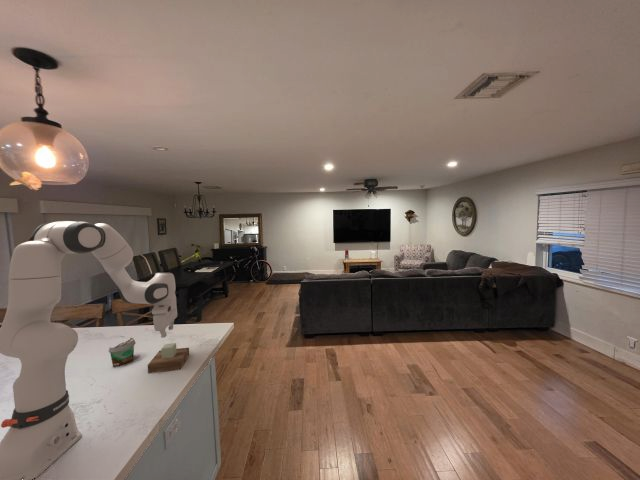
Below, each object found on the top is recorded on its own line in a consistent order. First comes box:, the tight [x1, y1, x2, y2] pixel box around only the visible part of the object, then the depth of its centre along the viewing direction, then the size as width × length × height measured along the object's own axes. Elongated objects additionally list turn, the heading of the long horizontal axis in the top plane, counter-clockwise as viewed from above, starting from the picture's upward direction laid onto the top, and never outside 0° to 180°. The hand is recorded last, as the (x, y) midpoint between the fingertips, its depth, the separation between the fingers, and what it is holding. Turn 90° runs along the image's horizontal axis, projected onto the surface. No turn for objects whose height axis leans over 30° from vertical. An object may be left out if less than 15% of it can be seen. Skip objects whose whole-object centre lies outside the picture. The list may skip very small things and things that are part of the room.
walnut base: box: [147, 347, 190, 374], centre depth 130 cm, size 14×14×4 cm
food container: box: [108, 337, 136, 368], centre depth 133 cm, size 12×6×10 cm, turn 168°
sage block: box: [160, 342, 177, 359], centre depth 130 cm, size 5×5×5 cm
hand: (167, 333), depth 129 cm, fingers open, 8 cm apart
